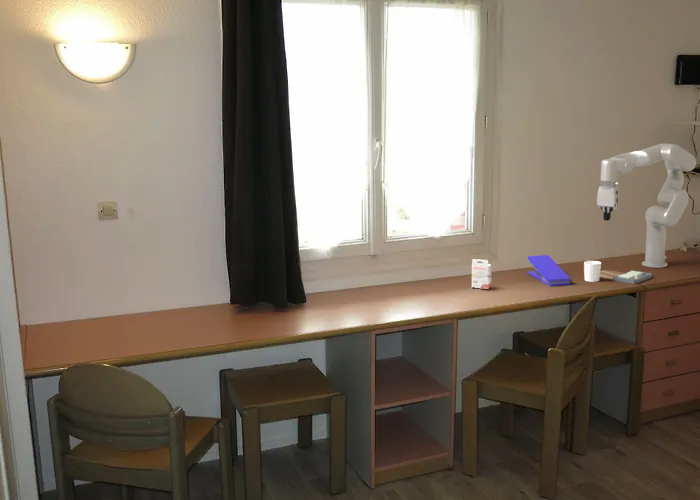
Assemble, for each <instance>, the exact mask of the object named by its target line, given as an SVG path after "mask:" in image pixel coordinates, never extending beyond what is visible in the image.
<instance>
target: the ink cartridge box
mask: <svg viewBox="0 0 700 500" xmlns="http://www.w3.org/2000/svg"><path fill="white" fill-rule="evenodd" d="M480 262H481V263H480ZM472 287H475V288H485V289H489V288H490V287H491V288H492V264H489V260H488V259H479V258H478V259H475V258H473V259H471V288H472ZM491 288H490V289H491ZM490 289H489V290H490Z"/></svg>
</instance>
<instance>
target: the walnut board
mask: <svg viewBox="0 0 700 500" xmlns="http://www.w3.org/2000/svg"><path fill="white" fill-rule="evenodd" d="M627 273H628V272H620V271H614V270H608V269H603V270H601V271H600V279H606V280H612V281H614V280H613V276H616V277H618V276H619V275H622V274H627Z"/></svg>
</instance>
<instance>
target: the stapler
mask: <svg viewBox="0 0 700 500" xmlns="http://www.w3.org/2000/svg"><path fill="white" fill-rule="evenodd" d="M527 260H528V262H529V264H530V265H531V266H532V267H533V268H534V269H535V270H531V271H530V270H529V271H526V274H527V273H529V274H530V275H529V274H528V275H529V276H531V275H532V276H531V277H533V276H534V277H535V279H536V278H537V280H538V279H539V281H540V280H541V281H540V282H542V283H544V284H545V283H546V285H547V286H549V287H559V286H560V285H561V286H570V283H571V278H570V276H569V275H568V274H567V273H566V272H565V271H564V270H563V269H562V268H561V266H560V265H558V264H557V263H556V262H555V261H554V260H553V258H552V257H550V255H548V254H546V255H545V254H543V255H530V256H527ZM534 277H533V278H534ZM561 286H560V287H561Z"/></svg>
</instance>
